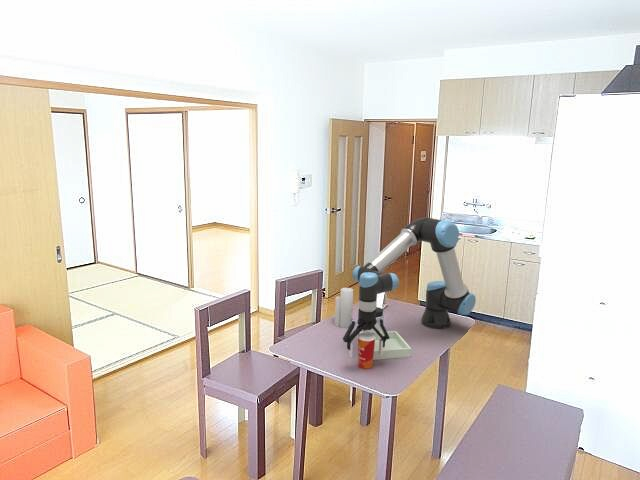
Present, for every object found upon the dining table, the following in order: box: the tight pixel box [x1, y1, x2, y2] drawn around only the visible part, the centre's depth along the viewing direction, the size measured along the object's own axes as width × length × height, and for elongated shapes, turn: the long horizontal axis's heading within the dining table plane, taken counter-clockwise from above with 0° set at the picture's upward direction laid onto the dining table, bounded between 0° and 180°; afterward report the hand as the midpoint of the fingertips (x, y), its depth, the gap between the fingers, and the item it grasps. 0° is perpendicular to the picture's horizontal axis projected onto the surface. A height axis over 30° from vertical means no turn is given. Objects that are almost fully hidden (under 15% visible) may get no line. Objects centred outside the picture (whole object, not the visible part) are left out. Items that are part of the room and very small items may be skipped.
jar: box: [365, 306, 385, 333], centre depth 241 cm, size 9×8×12 cm
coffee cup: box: [356, 330, 376, 370], centre depth 205 cm, size 8×8×15 cm
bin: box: [356, 330, 412, 361], centre depth 223 cm, size 20×20×4 cm
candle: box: [334, 287, 354, 329], centre depth 249 cm, size 11×7×20 cm, turn 48°
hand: (365, 355), depth 205 cm, fingers open, 13 cm apart
